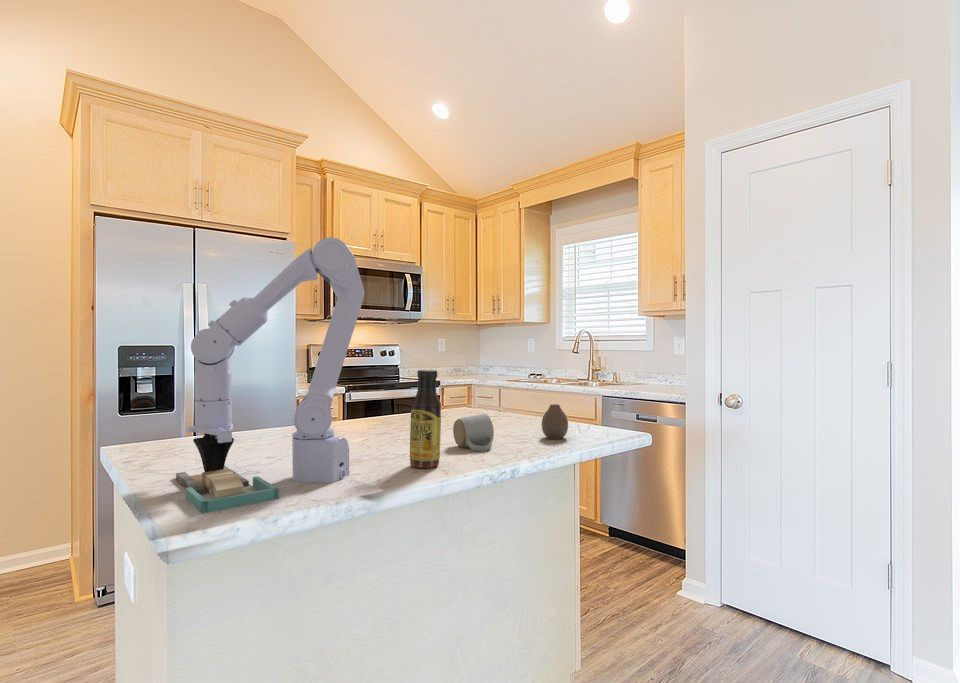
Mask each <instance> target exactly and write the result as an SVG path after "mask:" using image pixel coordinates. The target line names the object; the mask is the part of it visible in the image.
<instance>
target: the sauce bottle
mask: <svg viewBox="0 0 960 683" xmlns="http://www.w3.org/2000/svg"><path fill="white" fill-rule="evenodd" d="M437 378H438V370H437V369H436V370H435V369H418V370H417V379H418V380H417V392H416V395H415V398H414V400H413V401H414V402H413V405H412V407H411V410H410V428H409V429H410V430H409V431H410V432H409V433H410V434H409V460H410V461H409V462H410V463H409V464H410V466H411V467H413V468H416V469H432V468H435V467H438V466H439V464H440V459H441V440H442V439H441V438H442V436H441V433H442V432H441V431H442V430H441V429H442V428H441V426H442V415H441V414H442V413H441V412H442V403H441V400H440V398H439V397H438V394H437Z"/></svg>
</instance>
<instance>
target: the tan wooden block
mask: <svg viewBox="0 0 960 683" xmlns="http://www.w3.org/2000/svg"><path fill="white" fill-rule="evenodd" d="M237 474H238V473H237ZM237 474H233V475H227V476H221V477H214V478H210V488H209V492H210V493H209V494H210V495H212V497H213V498H214V499H216V498H222V497H227V496H233V495H238V494H244V488H245V487H244V486H243V484H242V482H241V481H240V479H239V477H238V476H237Z"/></svg>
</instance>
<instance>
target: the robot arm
mask: <svg viewBox="0 0 960 683" xmlns="http://www.w3.org/2000/svg"><path fill="white" fill-rule="evenodd" d="M312 249H313V250H312ZM318 275H319V276H320V277H322V279H324V280H325V281H326V282H327V283H329V285H330V287H331V289H332V291H333V293H334V294H335V296H336V302H335V305H334V308H333V310H332V315H331V318H330V321H329V324H328V326H327V330H326V333H325V337H324V339H323V343H322V346H321V349H320V353H319V355H318V358H317V362H316V365H315V369H314V372H313V374H312V377H311V380H310V383H309V387H308V389H307V393H306V394H305V396H304V398H303V399H302V400H301V401H299V403H298V404H297V407H296V409H295V412H294V415H293V425H294V427H295V430H296V431H295V432H292V438H291V439H292V441H291V442H292V444H291V445H292V480H293V481H295V482H297V483H324V484H325V483H327V484H334V483H336V482H338V481H340V480H344V479H345V478H346V477H350V445H349V442H348V440H347V439H346V438H345V437H343V436H336V435H335V431H334V429H332V428H331V426H332V421H333V415H332V408H331V407H332V403H333V400H334V397H335V393H336V392H335V391H336V387H337V385H338V381H339V378H340V374H341V372H342V369H343V365H344V362H345V359H346V356H347V352H348V349H349V346H350V343H351V340H352V336H353V333H354V330H355V327H356V324H357V321H358V317H359V314H360V311H361V308H362V304H363V302H364V298H365V288H364V286H363V282H362V279H361V278H362V277H361V275H360V271H359V268H358V266H357V260H356V257H355V255H354V254H353V252H352V251H351V250H350V248H349V247H348V245H347V244H346V243H345V242H344V241H342V240H341V239H339V238H336V237H324V238H322V239H320V240H319V241H318V242H317V243H316V244H315V246H314V247H313V248H312V247H309V248H308V249H306V250H305V251H304V252H303V253H301V254H300V255H298V256H297V257H296V258H295V259H294V260H292V261H291V262H290V263H289V264H288V265H287V266H286V267H285V268H284V269H283V270H282V271H281V272H280V273H279V274H277V275H276V276H275V278H273V279H272V280H271V281H270V282H269V283H268V284H267V285H266V286H265V287H264V288H263V289H262V290H261V291H259V292H258V293H257V294H256V295H255V296H254V297H247V296H246V297H245V296H244V297H241V298H240V299H239V300H236V299H233V300H232V301H230V303H229V305H228V306H230V308H229V309H227V310H226V311H225V312H224V313H222V315H220V316H219V317H217V319H216V320H210V321H209V322H207V325H208V326H209V327H210V328H203V329H200V330H198V332H196V335H194V337H193V338H192V340H191V343H190V351H191V354H192V356H193V357H194V358H195V359H194V376H193V378H194V381H193V382H194V383H193V385H194V386H193V388H194V390H193V391H194V393H193V394H194V425H193V426H187V427H186V432H188V433H199V434H203V436H201V437H195V438H193V439H192V442H193V443H194V444H195V446H196V448H197V450H198V453H199V456H200V458H201V462H202V466H203V471H204V472H209V471H216V470H223V469H224V466H226V465H225V464H226V460H227V457H228V454H229V450H230V449H231V447H232V445H233V444H234V441H235V439H234V437H233V429H234V423H233V419H232V418H233V412H232V411H233V408H232V407H233V405H232V404H233V403H232V401H233V400H232V371H231V357H232V356H233V354H234V351H235V346H241V345H243V343H245V341H247V340H248V339H249V338H250V337H252V336H253V334H255V333H256V332H257V331H259V329H261V327H262V326H264V325H265V324H266V323H268V311H269V310H270V309H272V307H274V306H275V305H276V304H278V303H279V302H280V301H281V300H282V299H284V298H285V297H286V296H287V295H289V294H290V293H291V292H292V291H293V290H294V289H296V288H297V287H298V286H299V285H300V284H301V283H304V282H305V283H306V282H310V281H317V280H318Z"/></svg>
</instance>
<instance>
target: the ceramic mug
mask: <svg viewBox="0 0 960 683" xmlns="http://www.w3.org/2000/svg"><path fill="white" fill-rule="evenodd" d="M452 431H453V439H454V442H455V443H456V445H457V446H458V447H460V448H465V449H467V448H470V449H471V450H473V451H475V452H487V451H490V449H491V448H492V445H493V442H494V436H495V435H494V434H495V433H494V432H495V430H494V425H493V421H492V420H491V417H490V416H489V415H488V414H487V413H481V414H477V415H471V416H470V415H469V416H464V417H463V416H462V417H459V418H457V419H455V421H454V423H453V429H452Z"/></svg>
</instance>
